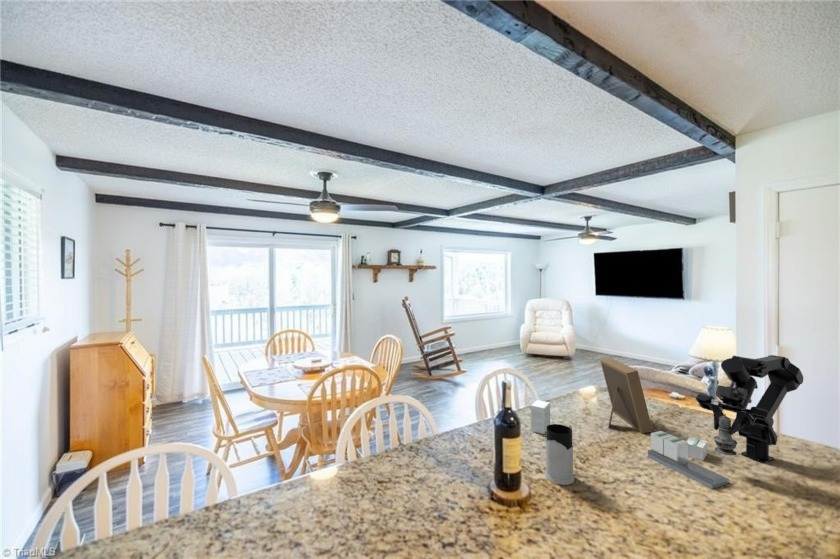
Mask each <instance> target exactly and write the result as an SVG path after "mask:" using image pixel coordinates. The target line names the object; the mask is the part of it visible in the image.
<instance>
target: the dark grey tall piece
mask: <svg viewBox="0 0 840 559" xmlns="http://www.w3.org/2000/svg"><path fill="white" fill-rule="evenodd" d="M723 415H724V416H721V417H719V426H718V435H715V436H713V438H712V439H713V441H714V443H715V444H716V446H715V447H714V451H716V453H718V454H721V455H725V456H733V457H734V456H736V455H737V452H736V451H735V448H736V447H737V444H738V441H737V440H735V439H734V438H733V437H732V435H730V434H729V431H730V428H731V426H732V423H731V422H732V421H731V418H730V417H728V416H727V415H726V413H724V414H723Z"/></svg>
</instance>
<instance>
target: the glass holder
mask: <svg viewBox="0 0 840 559" xmlns="http://www.w3.org/2000/svg"><path fill="white" fill-rule="evenodd" d="M545 440H546V441H545V461H546V462H545V472H544V477H545V478H546V480H548V481H550V482H551V483H554V484H558V485H563V486H565V485H572V484H573V483H574V482H575V476H574V447H573V446H574V445H573V427H572V425H570V424H567V425H563V424H559V423H558V424H557V423H553V424H551V423H550V425H548V426H547V432H546V439H545Z"/></svg>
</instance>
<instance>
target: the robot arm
mask: <svg viewBox="0 0 840 559" xmlns="http://www.w3.org/2000/svg"><path fill="white" fill-rule="evenodd" d="M720 367H721V369H722V371H723V372H724V374H725V376H727V378H728V380H729V381H730V382H731V383H730V385H729V386H726V385H725V386H723V385H720V384H718V385H717V388H716V393H715V395H716V396H719V400H720V401H719V400H718V399H717V400H716V399H715V398H714V396H712V395H709V394H705V393H703V392H702V393H701V392H700V393H698V394H696V397H695V400H696V401H697V403H698V405H699V406H700V407H701V408H702V409H704V410H708V411H711V412H712V413H713V428H714V429H715V430H716V431H717V430H719V428H718V426H719V417H721V416H724V415H723V414H725V413H724V412H723V411H724V410H725V411H729V412H732V413H736V414H735V418H734V420H733V422H732V423H731V428H730V431H729V434H730V435H731V436H732V435H734V434H736V433H737V432H738V433H737V434H738V436H741V437H744V438H745V439H746V440H745V451H742V452H740V455H742V456H745V457H747V458H750V459H752V460H755V461H757V462H760V463H763V464H766V463H768V462H770V461H771V462H772V461H774V460H775V457H774V456H770V446H777V442H778V435H777V432H775V430H774V428H773V426H774V422H775V420H774V418H773V417H774V415H775V414H776V412H777V410H778V409H779V407H780V405H781V404H782V402H783V400H784V399H785V397H786V395H787V393H790V392H793V391H796V390H798V388H799V387H800V385H802V384H803V383H804V376H803V372H802V371H801V369H800V368H799V367H797V366H796V365H795V364H793V363H792V362H791V361H790V359H789V358H788V357H785V356H780V355H774V354H773V355H772V354H770V355H767V356H763V357H758V358H750V357H743V356H738V355H732V357H730V358H726V359H725V360H723V361H722V362H721V363H720ZM767 376H768V379H769V382H770V383H769V385H768V387H766V389H765V392H764V393H763V395H761V398H760V400H758V402H757V404H756V406H751V407H750V408H748V405H749V404H752V401H753V400H752V396H753V394H754V391H755V389H757V390H758V382H757V380H756V378H760V379H763V378H765V377H767ZM754 377H755V378H754ZM715 430H714V431H715Z"/></svg>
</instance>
